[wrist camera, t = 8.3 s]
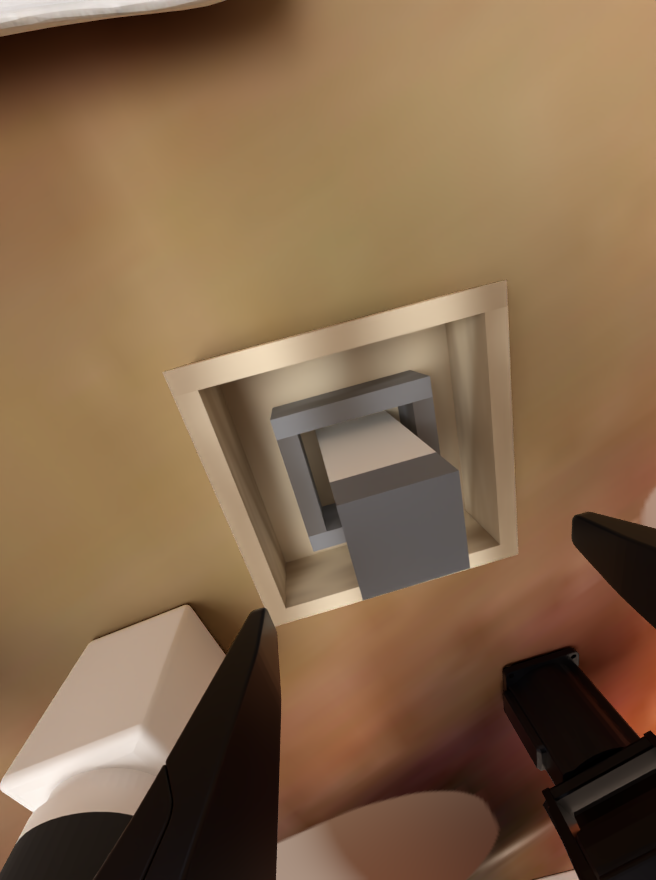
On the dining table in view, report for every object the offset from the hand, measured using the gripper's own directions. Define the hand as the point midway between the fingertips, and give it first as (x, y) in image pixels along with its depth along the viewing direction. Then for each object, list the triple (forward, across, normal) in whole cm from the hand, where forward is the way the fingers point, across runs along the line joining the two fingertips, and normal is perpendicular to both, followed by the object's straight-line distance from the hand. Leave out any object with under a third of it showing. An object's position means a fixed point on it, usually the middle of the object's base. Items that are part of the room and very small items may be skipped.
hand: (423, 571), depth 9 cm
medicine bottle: (+10, +16, +11) cm, 22 cm away
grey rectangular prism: (+10, 0, 0) cm, 10 cm away
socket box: (+10, 0, 0) cm, 10 cm away
